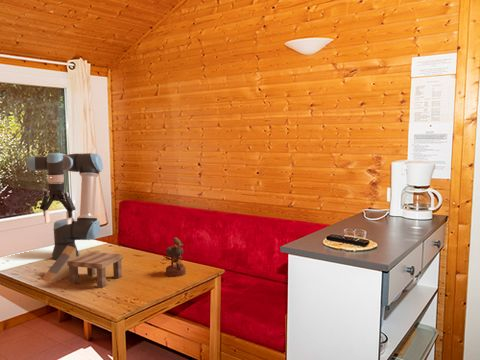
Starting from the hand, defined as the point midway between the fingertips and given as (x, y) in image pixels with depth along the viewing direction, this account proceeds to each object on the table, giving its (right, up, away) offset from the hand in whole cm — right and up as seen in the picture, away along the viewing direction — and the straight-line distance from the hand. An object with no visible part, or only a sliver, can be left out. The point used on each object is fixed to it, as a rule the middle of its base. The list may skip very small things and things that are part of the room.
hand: (58, 223), depth 218 cm
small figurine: (+60, -28, +7) cm, 66 cm away
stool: (+21, -29, -4) cm, 36 cm away
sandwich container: (-1, -29, +3) cm, 29 cm away
